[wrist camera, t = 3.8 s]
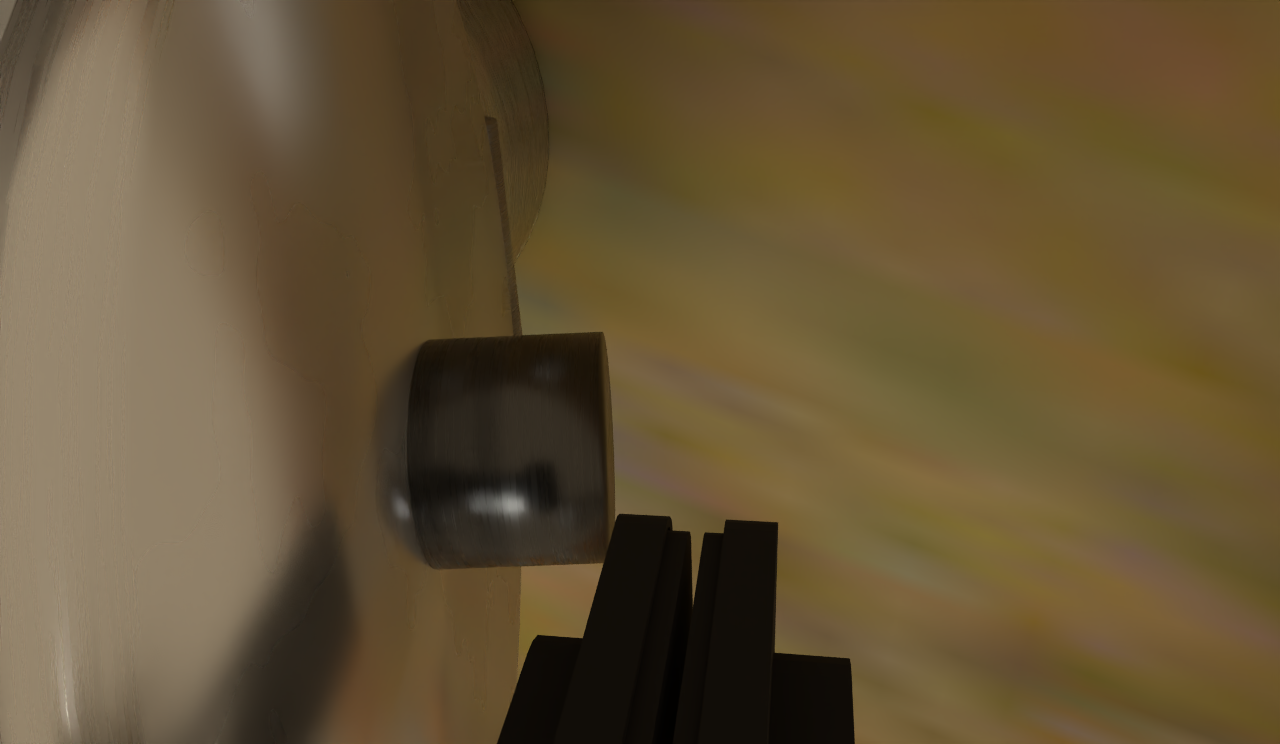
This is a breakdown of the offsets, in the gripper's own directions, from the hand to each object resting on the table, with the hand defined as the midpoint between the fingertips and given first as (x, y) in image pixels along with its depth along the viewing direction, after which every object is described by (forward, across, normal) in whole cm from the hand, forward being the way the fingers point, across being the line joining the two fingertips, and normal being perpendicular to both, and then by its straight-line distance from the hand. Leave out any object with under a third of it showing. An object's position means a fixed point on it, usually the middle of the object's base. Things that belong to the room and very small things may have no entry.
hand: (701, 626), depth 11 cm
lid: (+3, +5, 0) cm, 6 cm away
